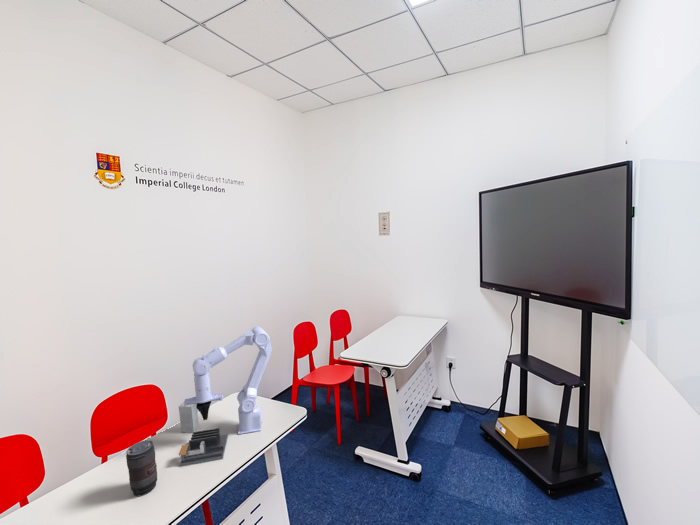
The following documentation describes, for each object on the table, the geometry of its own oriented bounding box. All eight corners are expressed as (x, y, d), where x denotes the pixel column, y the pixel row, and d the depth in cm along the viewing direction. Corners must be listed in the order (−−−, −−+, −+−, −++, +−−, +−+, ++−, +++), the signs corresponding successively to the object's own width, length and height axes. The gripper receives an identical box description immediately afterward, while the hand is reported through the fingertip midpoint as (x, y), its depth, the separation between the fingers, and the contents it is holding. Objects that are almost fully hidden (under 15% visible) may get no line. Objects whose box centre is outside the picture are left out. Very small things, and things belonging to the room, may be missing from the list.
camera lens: (154, 475, 118) (150, 436, 116) (161, 487, 112) (157, 446, 111) (128, 488, 112) (123, 447, 111) (133, 502, 107) (128, 459, 105)
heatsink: (227, 436, 139) (227, 425, 138) (222, 458, 125) (221, 447, 125) (188, 443, 136) (187, 432, 135) (179, 466, 122) (178, 454, 121)
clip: (205, 451, 128) (204, 441, 127) (204, 455, 125) (203, 444, 125) (182, 455, 126) (181, 444, 125) (180, 459, 124) (179, 448, 123)
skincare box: (199, 427, 147) (197, 401, 145) (194, 432, 142) (191, 406, 141) (186, 426, 147) (184, 401, 146) (180, 432, 143) (178, 406, 142)
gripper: (223, 380, 140) (225, 410, 142) (186, 385, 137) (189, 416, 138) (220, 388, 133) (223, 419, 135) (181, 393, 130) (184, 425, 132)
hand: (205, 418), depth 136 cm, fingers closed
